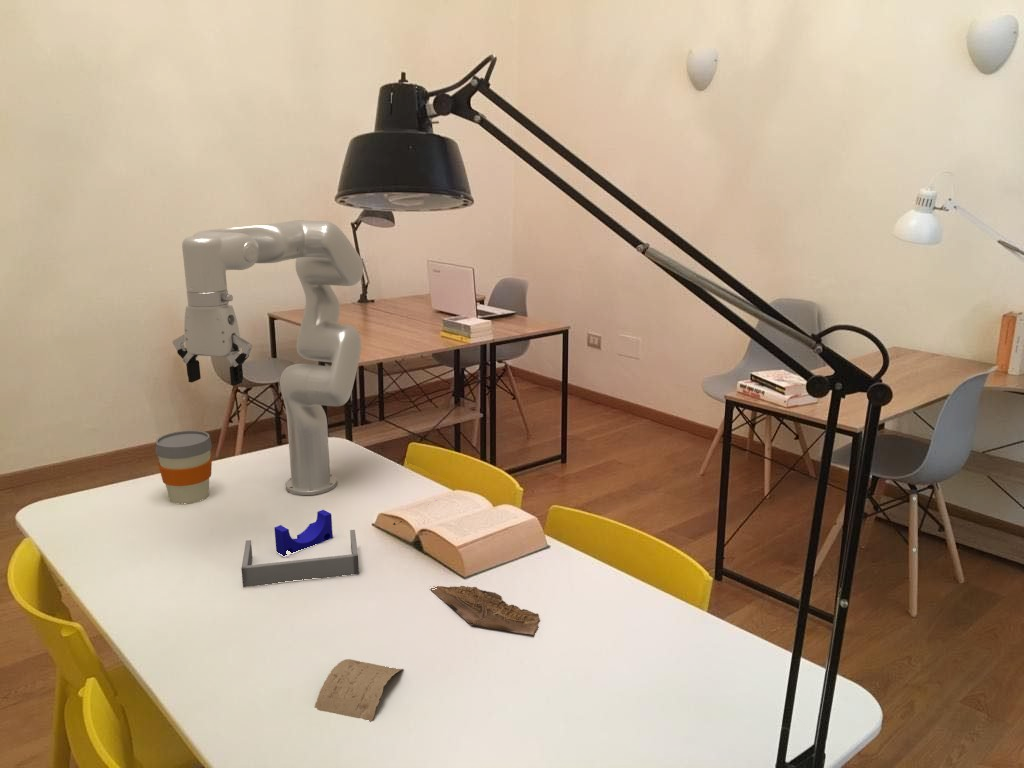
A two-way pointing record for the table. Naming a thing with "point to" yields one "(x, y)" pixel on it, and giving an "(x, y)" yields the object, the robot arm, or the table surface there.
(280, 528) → the blue curved cradle
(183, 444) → the reusable coffee cup
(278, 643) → the table surface
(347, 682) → the brown curved piece
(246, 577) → the u-shaped bracket
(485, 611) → the wooden fragment
